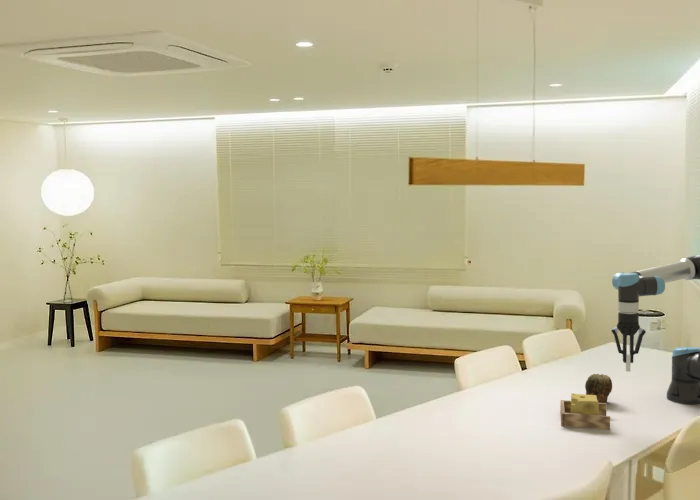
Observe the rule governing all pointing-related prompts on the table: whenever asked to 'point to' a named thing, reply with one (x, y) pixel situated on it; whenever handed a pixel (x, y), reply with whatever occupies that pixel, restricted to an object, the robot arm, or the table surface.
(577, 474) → the table surface
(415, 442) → the table surface
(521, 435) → the table surface
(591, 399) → the cheese
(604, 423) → the corral
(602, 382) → the shell
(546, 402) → the table surface
